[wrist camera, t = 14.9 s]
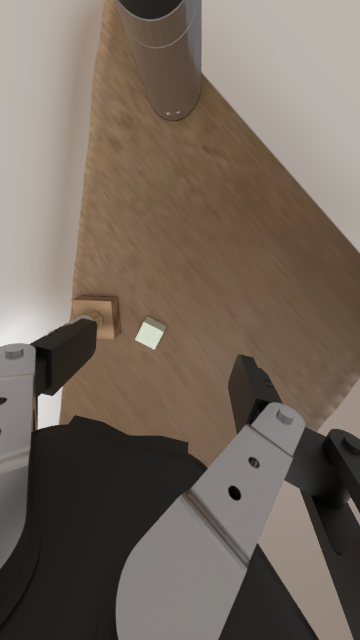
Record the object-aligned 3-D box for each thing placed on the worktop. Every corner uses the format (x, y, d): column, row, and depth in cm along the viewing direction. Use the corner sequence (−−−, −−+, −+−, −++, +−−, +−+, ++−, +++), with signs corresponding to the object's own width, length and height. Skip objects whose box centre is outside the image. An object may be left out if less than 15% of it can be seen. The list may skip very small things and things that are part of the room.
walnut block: (81, 295, 49) (71, 299, 46) (117, 297, 49) (110, 301, 45) (86, 330, 52) (77, 337, 48) (120, 332, 51) (114, 339, 48)
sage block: (148, 316, 50) (143, 321, 46) (166, 325, 50) (163, 332, 46) (139, 332, 51) (135, 339, 47) (157, 342, 52) (154, 349, 48)
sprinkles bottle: (101, 331, 47) (64, 362, 35) (82, 325, 47) (39, 352, 35) (105, 314, 46) (69, 338, 33) (85, 307, 46) (42, 329, 33)
